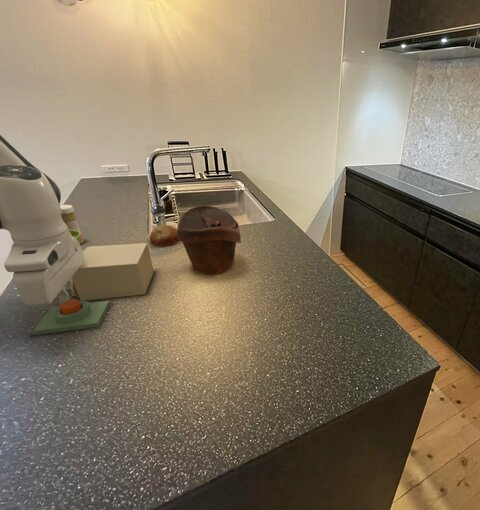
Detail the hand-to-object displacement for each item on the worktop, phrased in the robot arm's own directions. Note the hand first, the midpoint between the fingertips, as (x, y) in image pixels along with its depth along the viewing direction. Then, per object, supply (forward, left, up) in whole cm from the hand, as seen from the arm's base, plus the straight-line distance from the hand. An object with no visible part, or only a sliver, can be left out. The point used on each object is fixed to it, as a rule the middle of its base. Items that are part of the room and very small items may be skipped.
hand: (67, 297), depth 71 cm
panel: (0, 0, -6) cm, 6 cm away
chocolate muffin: (+31, +21, -6) cm, 38 cm away
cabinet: (+6, +14, -6) cm, 16 cm away
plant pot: (-12, +32, -6) cm, 35 cm away
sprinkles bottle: (-15, +46, -6) cm, 49 cm away
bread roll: (+14, +43, -6) cm, 46 cm away
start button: (0, 0, -3) cm, 3 cm away
